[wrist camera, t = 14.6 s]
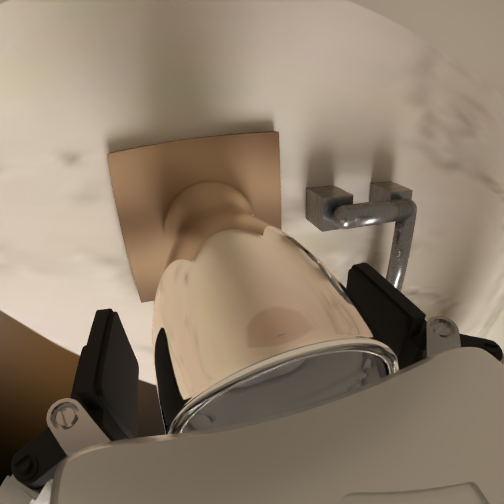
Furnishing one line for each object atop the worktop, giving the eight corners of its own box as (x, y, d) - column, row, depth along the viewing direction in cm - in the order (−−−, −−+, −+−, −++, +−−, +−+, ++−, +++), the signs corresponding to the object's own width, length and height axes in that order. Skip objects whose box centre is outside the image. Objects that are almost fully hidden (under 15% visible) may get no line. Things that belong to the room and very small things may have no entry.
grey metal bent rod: (374, 299, 28) (397, 323, 25) (301, 319, 27) (321, 350, 23) (391, 181, 23) (425, 196, 19) (306, 188, 21) (335, 205, 17)
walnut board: (278, 272, 24) (281, 277, 23) (141, 296, 21) (141, 302, 21) (274, 131, 19) (278, 132, 18) (109, 153, 16) (107, 154, 16)
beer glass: (221, 285, 22) (294, 478, 9) (138, 241, 19) (118, 465, 6) (278, 210, 20) (435, 363, 7) (196, 153, 17) (287, 277, 4)
